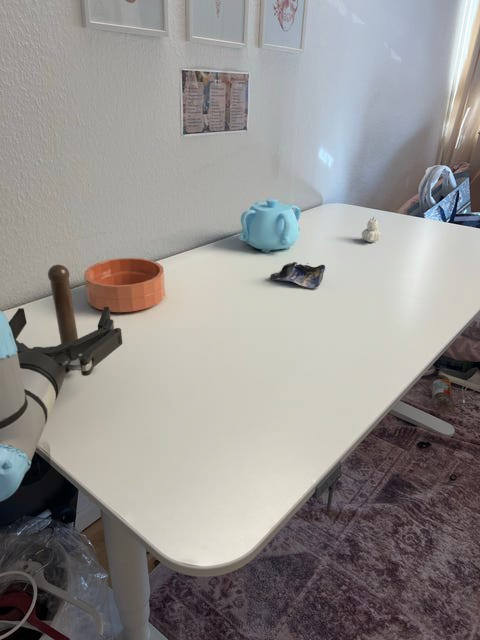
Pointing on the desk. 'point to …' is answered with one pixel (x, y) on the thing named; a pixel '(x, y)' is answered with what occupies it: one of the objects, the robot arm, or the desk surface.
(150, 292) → the bowl
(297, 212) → the decorative pot
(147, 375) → the desk surface
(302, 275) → the snack package
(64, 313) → the muddler
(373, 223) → the cream small figurine
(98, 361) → the robot arm
